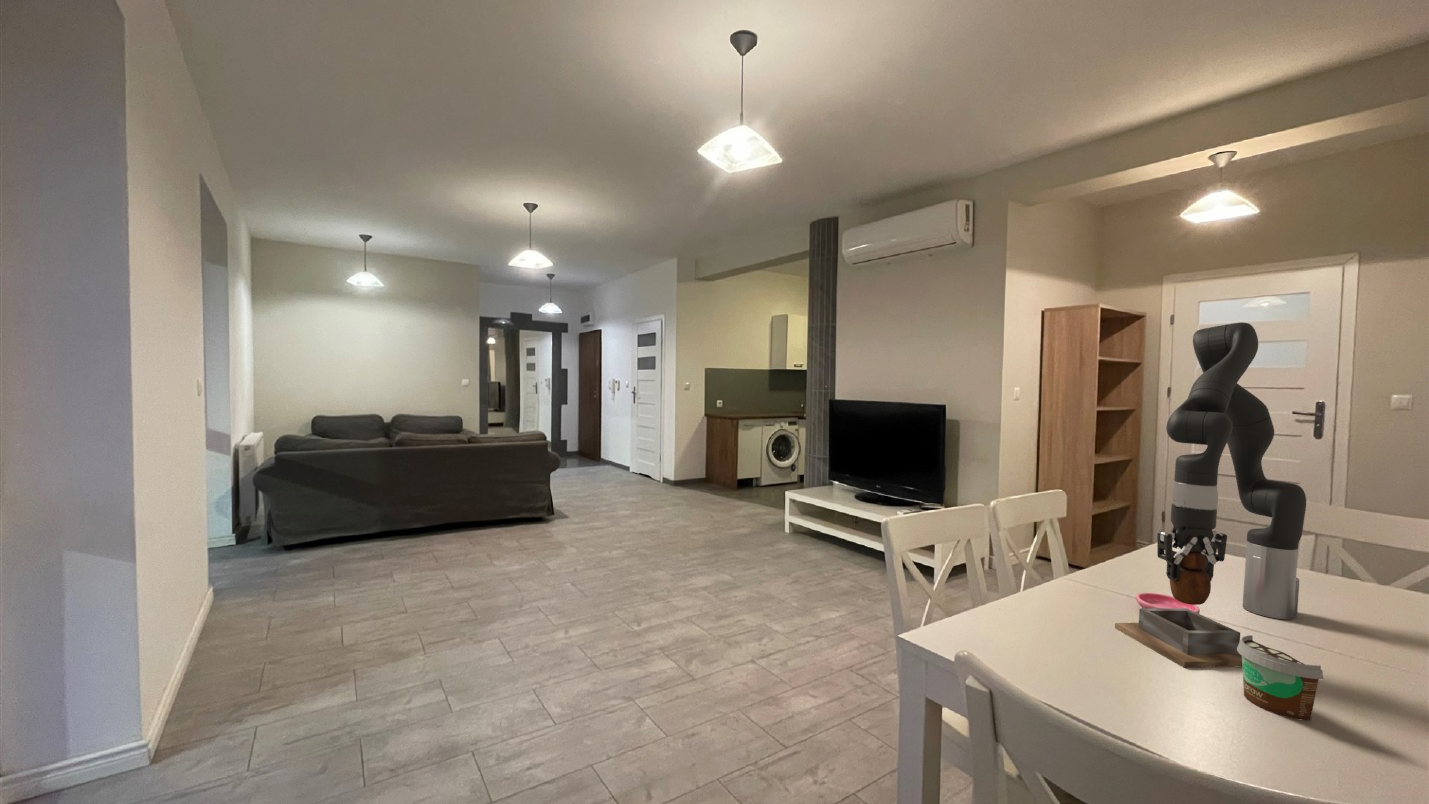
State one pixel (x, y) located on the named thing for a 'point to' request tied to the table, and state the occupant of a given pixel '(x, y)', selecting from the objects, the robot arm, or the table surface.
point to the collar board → (1185, 637)
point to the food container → (1278, 680)
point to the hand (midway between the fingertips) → (1189, 579)
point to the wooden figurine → (1192, 580)
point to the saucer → (1162, 602)
